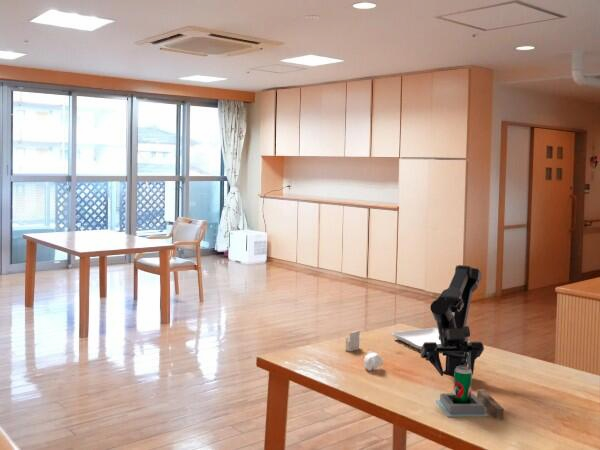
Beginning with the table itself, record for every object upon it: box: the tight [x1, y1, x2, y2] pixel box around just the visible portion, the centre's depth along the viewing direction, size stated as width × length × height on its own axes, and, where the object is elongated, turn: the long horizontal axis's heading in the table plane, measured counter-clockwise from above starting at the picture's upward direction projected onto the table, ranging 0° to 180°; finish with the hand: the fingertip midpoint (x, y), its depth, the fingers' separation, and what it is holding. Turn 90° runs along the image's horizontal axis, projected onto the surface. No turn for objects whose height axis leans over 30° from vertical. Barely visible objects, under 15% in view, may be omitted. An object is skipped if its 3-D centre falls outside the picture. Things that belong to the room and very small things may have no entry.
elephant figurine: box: [362, 350, 384, 372], centre depth 230 cm, size 7×8×6 cm
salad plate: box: [391, 327, 441, 351], centre depth 264 cm, size 21×21×3 cm
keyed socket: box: [435, 392, 489, 418], centre depth 195 cm, size 12×12×3 cm
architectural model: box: [343, 330, 362, 352], centre depth 255 cm, size 3×7×7 cm, turn 135°
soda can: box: [453, 365, 473, 404], centre depth 195 cm, size 5×5×12 cm
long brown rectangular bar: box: [476, 388, 505, 420], centre depth 196 cm, size 16×2×3 cm, turn 5°
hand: (457, 375), depth 200 cm, fingers open, 9 cm apart
